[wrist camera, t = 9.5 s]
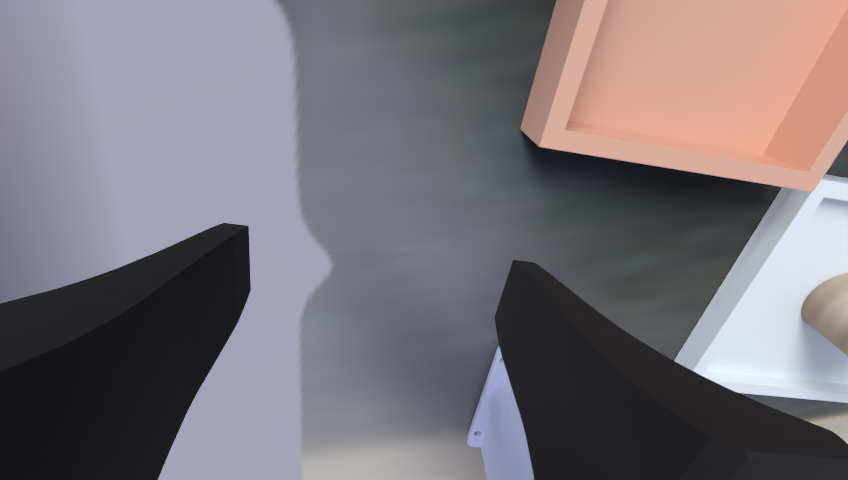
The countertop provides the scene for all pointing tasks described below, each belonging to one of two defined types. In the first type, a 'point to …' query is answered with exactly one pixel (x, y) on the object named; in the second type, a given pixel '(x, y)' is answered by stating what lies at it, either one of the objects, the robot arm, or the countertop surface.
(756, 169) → the pink square tray
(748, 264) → the white tray
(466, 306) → the countertop surface
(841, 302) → the birch peg
